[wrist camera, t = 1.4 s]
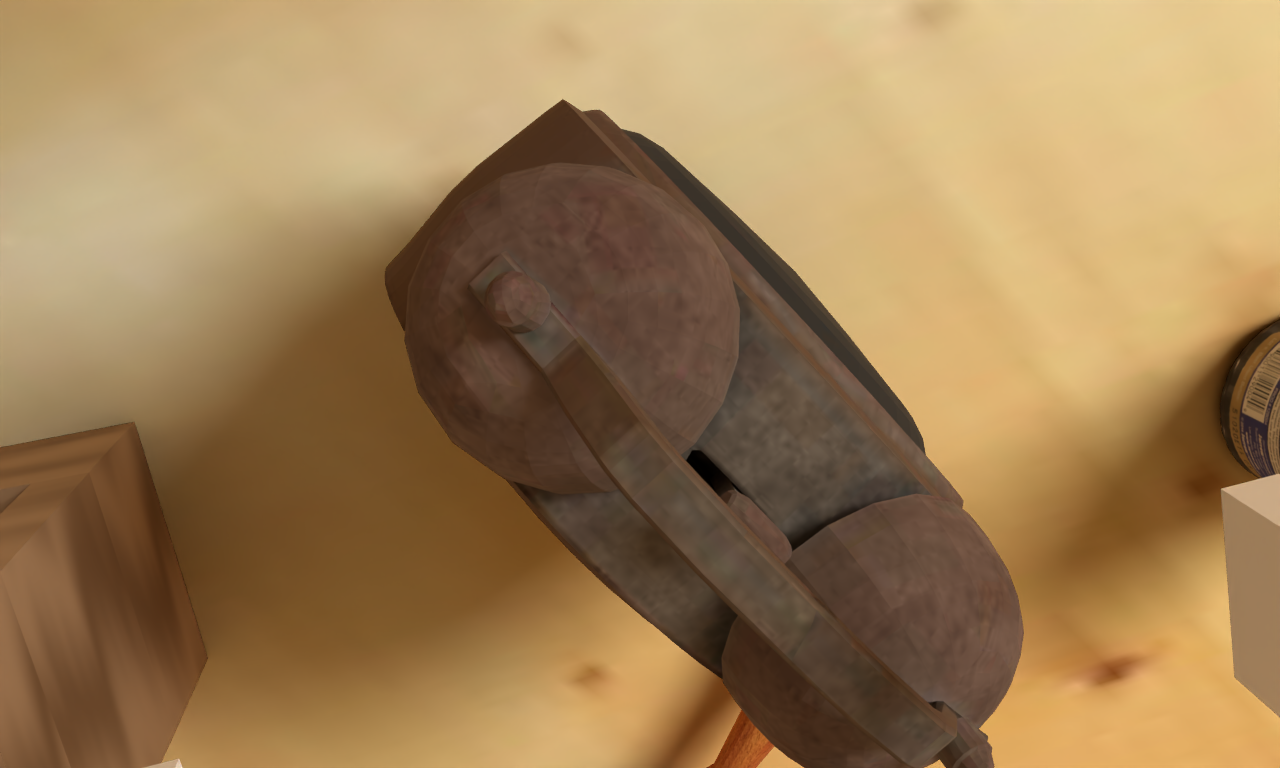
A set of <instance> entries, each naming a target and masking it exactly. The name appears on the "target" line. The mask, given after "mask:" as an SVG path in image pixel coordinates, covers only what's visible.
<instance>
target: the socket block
mask: <svg viewBox="0 0 1280 768" xmlns="http://www.w3.org/2000/svg"><path fill="white" fill-rule="evenodd" d="M207 659H208V658H207V654H206V651H205V648H204V645H203V641H202V638H201V635H200V632H199V629H198V625H197V622H196V619H195V616H194V612H193V609H192V606H191V603H190V600H189V596H188V593H187V590H186V587H185V584H184V580H183V577H182V574H181V571H180V567H179V564H178V561H177V558H176V555H175V551H174V548H173V545H172V542H171V538H170V535H169V532H168V529H167V526H166V522H165V519H164V516H163V513H162V510H161V506H160V503H159V500H158V497H157V493H156V490H155V487H154V484H153V481H152V477H151V474H150V471H149V468H148V464H147V461H146V458H145V455H144V452H143V448H142V445H141V442H140V439H139V436H138V432H137V429H136V426H135V423H134V422H131V423H126V424H121V425H116V426H111V427H105V428H100V429H95V430H90V431H84V432H79V433H74V434H69V435H63V436H58V437H53V438H48V439H43V440H37V441H32V442H27V443H22V444H16V445H11V446H6V447H1V448H0V768H144V767H148V766H152V765H156V764H160V763H161V762H162V760H163V758H164V756H165V753H166V751H167V749H168V747H169V744H170V742H171V740H172V738H173V735H174V733H175V731H176V729H177V726H178V724H179V722H180V720H181V717H182V715H183V713H184V711H185V708H186V706H187V704H188V702H189V699H190V697H191V695H192V693H193V690H194V688H195V686H196V684H197V681H198V679H199V677H200V675H201V672H202V670H203V668H204V666H205V663H206V661H207Z"/></svg>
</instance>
